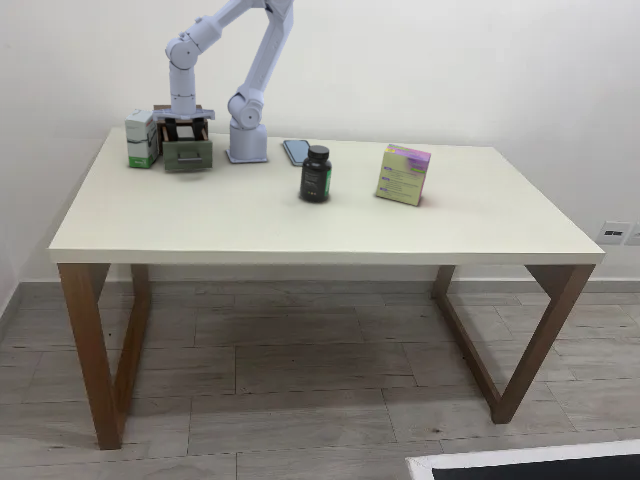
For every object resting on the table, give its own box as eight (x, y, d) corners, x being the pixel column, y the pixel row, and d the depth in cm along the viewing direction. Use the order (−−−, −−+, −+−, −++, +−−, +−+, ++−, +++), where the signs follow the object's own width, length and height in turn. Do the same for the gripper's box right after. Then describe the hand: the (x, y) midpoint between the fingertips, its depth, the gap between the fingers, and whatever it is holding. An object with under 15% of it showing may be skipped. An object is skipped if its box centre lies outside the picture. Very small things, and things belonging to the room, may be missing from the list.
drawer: (215, 175, 119) (214, 149, 116) (165, 178, 116) (163, 151, 112) (205, 148, 132) (204, 123, 129) (160, 149, 129) (159, 124, 125)
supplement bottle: (333, 200, 117) (339, 153, 110) (307, 205, 113) (312, 156, 107) (319, 187, 121) (324, 141, 115) (294, 192, 118) (298, 144, 112)
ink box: (149, 169, 121) (144, 122, 114) (128, 167, 120) (123, 119, 114) (159, 154, 128) (155, 109, 122) (140, 152, 128) (135, 107, 121)
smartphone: (294, 163, 130) (282, 140, 142) (294, 166, 130) (282, 143, 142) (321, 162, 132) (307, 139, 144) (320, 166, 133) (306, 142, 144)
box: (421, 196, 123) (431, 152, 117) (417, 206, 118) (428, 161, 112) (380, 186, 125) (388, 142, 119) (375, 196, 121) (383, 151, 114)
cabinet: (208, 153, 132) (207, 122, 127) (159, 155, 128) (156, 122, 123) (201, 134, 142) (200, 104, 138) (155, 135, 138) (153, 104, 134)
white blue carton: (192, 146, 128) (191, 126, 125) (195, 157, 123) (194, 136, 120) (176, 147, 127) (175, 126, 124) (179, 158, 121) (178, 137, 118)
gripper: (151, 98, 111) (156, 154, 118) (216, 98, 116) (217, 152, 123) (149, 88, 117) (154, 143, 124) (212, 89, 121) (213, 141, 129)
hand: (185, 147), depth 124 cm, fingers closed on white blue carton, 4 cm apart
